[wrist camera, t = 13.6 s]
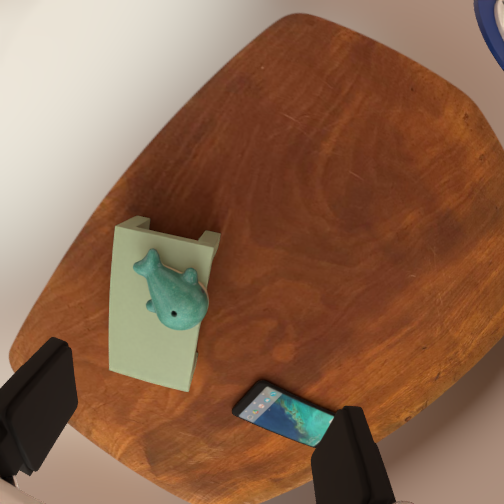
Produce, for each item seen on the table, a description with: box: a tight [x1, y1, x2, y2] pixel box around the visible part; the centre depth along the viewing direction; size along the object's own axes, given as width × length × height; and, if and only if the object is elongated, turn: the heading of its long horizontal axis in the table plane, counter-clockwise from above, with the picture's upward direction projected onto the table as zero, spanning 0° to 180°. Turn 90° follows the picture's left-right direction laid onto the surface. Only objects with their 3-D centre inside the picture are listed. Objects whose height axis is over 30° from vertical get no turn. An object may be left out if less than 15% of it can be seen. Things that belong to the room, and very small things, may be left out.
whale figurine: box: [133, 248, 209, 331], centre depth 26 cm, size 6×7×4 cm
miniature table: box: [109, 216, 221, 392], centre depth 31 cm, size 16×9×6 cm, turn 167°
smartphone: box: [232, 380, 336, 448], centre depth 38 cm, size 7×1×15 cm
